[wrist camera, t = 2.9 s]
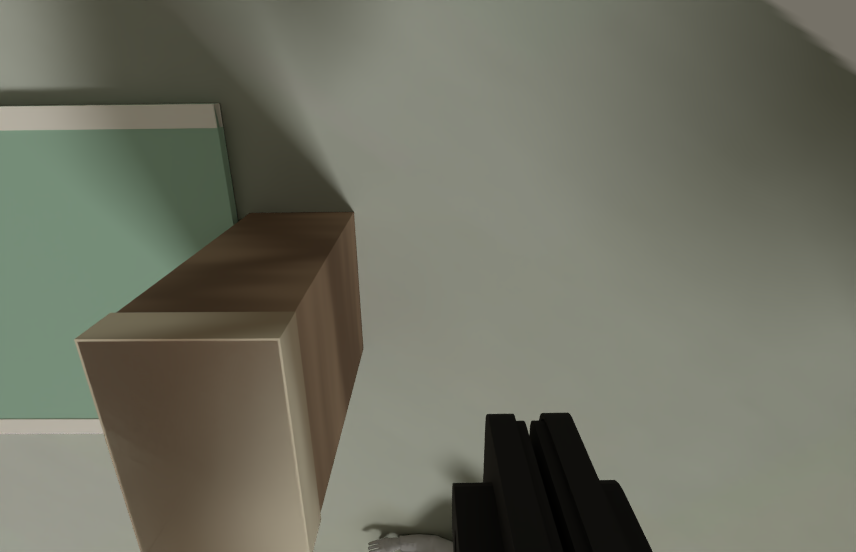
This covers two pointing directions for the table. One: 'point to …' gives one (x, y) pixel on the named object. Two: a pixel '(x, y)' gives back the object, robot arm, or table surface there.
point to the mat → (94, 235)
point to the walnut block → (233, 386)
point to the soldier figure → (412, 544)
